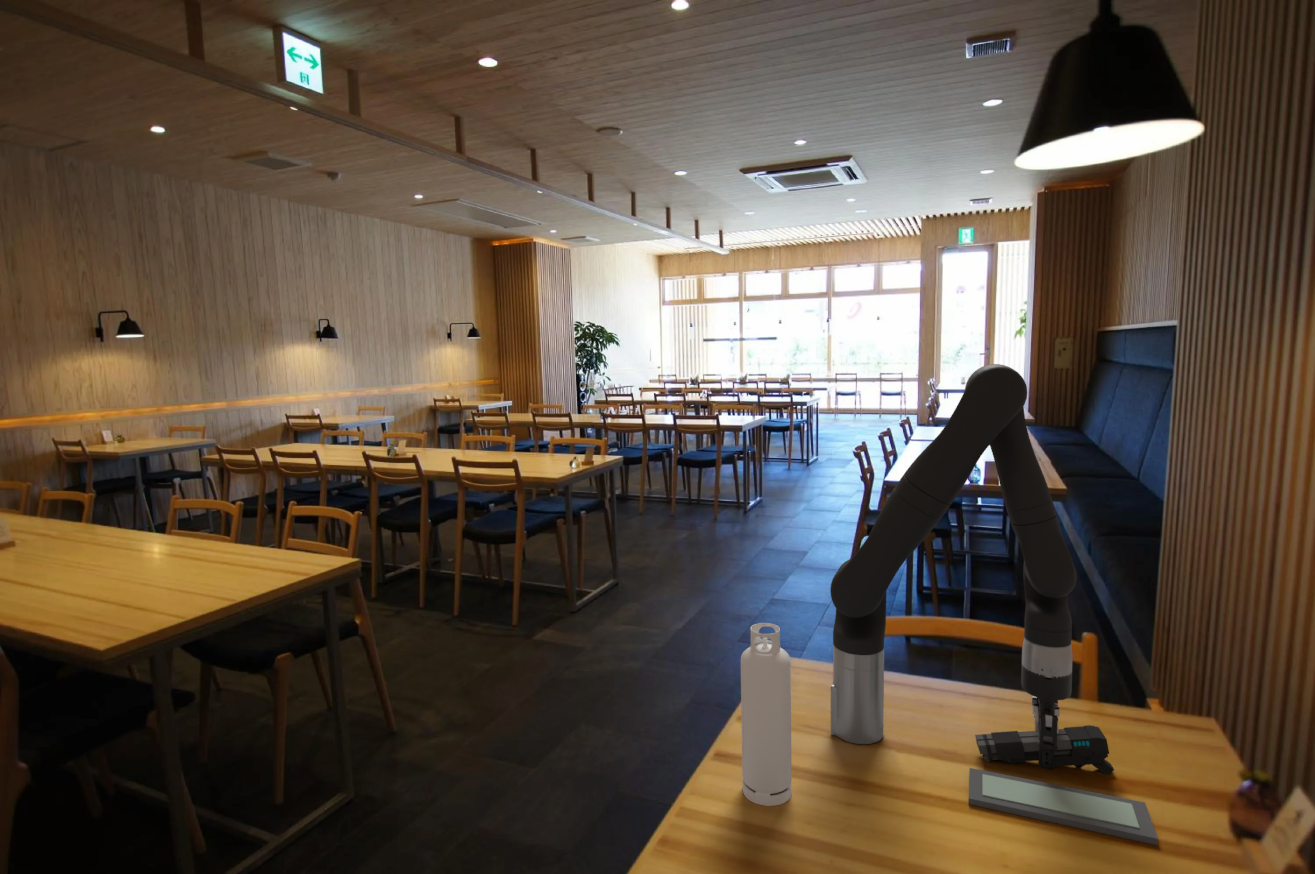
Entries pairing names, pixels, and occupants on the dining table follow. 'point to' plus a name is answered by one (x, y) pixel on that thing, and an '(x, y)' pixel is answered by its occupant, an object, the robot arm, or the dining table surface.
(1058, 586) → the robot arm
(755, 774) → the bottle
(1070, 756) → the gun
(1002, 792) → the charging mat
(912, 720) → the dining table surface
